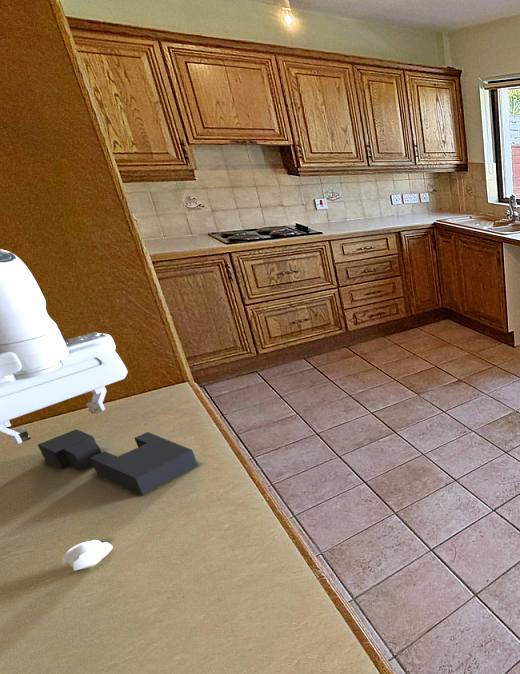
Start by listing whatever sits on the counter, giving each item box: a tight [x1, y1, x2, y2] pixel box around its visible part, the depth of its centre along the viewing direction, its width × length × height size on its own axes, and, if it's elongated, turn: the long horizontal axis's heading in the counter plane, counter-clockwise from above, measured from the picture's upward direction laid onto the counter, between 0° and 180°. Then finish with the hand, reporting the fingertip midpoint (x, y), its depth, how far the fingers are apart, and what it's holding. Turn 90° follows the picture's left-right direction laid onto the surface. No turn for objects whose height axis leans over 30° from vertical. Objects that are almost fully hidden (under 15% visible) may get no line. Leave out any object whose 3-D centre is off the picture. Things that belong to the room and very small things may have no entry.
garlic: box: [60, 539, 113, 572], centre depth 62 cm, size 5×3×5 cm
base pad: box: [90, 431, 199, 496], centre depth 79 cm, size 12×8×4 cm, turn 69°
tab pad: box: [37, 428, 102, 472], centre depth 80 cm, size 8×5×4 cm, turn 69°
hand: (62, 425), depth 79 cm, fingers open, 8 cm apart
